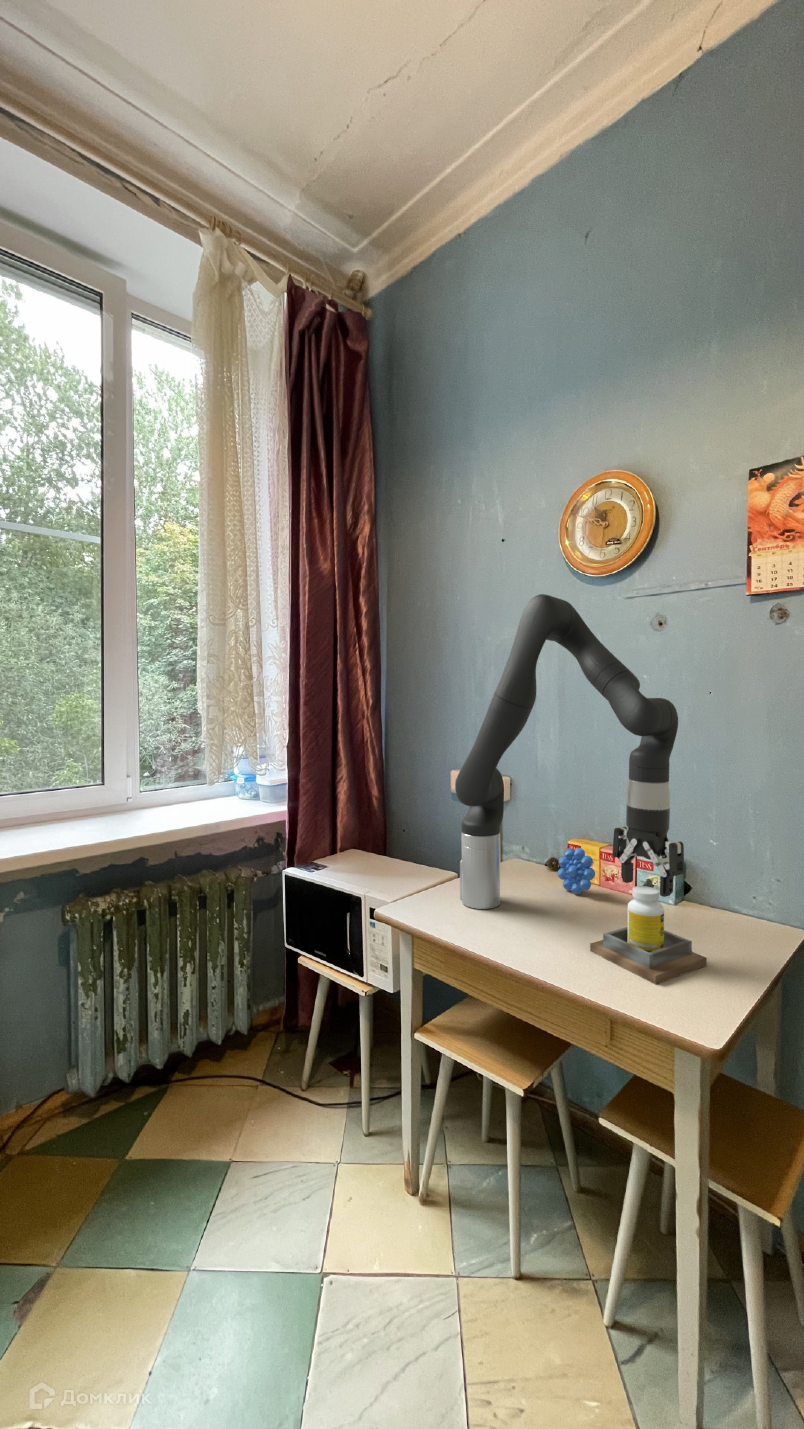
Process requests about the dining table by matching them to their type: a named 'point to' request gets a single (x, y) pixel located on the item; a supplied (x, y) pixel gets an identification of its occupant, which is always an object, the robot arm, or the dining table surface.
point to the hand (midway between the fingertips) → (645, 888)
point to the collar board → (650, 956)
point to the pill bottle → (646, 919)
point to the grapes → (576, 870)
